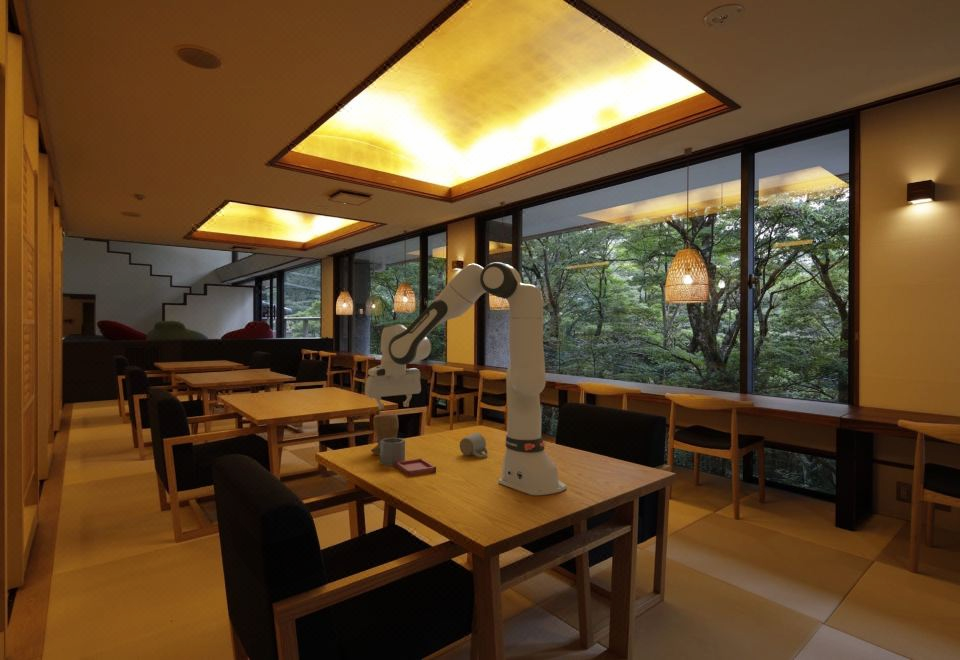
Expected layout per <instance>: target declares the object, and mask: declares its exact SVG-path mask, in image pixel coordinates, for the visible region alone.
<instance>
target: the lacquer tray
mask: <svg viewBox="0 0 960 660" xmlns="http://www.w3.org/2000/svg"><path fill="white" fill-rule="evenodd" d="M394 467H395V468H396V469H397V470H398V471H400V472H402V473H403V474H404V475H406V476H407V477H408V478H410V477H416V476H422V475H426V474H427V475H428V474H434V473H437V466H435V465H434V464H432V463H430V462H428V461H427V460H426V459H424V458H422V457H419V458H414V459H407V460H406V459H405V461H398V462H395V466H394Z"/></svg>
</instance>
